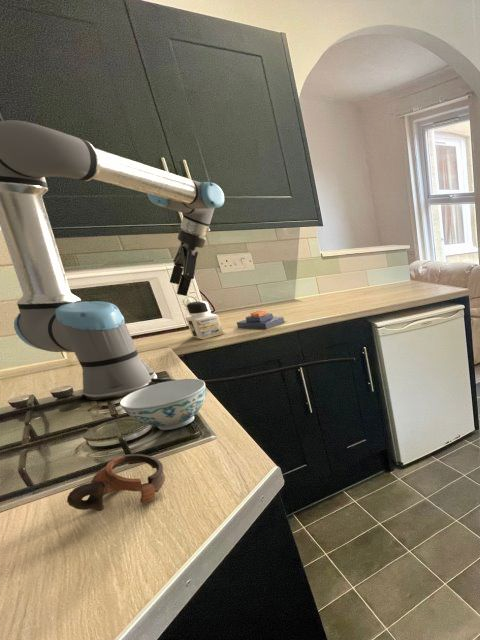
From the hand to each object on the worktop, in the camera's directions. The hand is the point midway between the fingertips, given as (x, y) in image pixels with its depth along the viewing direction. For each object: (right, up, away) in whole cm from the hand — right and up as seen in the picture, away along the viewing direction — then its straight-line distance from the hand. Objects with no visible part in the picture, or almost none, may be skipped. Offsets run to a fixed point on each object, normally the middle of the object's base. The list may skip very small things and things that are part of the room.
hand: (177, 288), depth 153 cm
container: (+5, -16, +8) cm, 19 cm away
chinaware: (+46, -44, -58) cm, 86 cm away
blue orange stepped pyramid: (+19, -10, +20) cm, 29 cm away
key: (+19, -7, +19) cm, 27 cm away
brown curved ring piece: (+58, -55, -83) cm, 115 cm away
